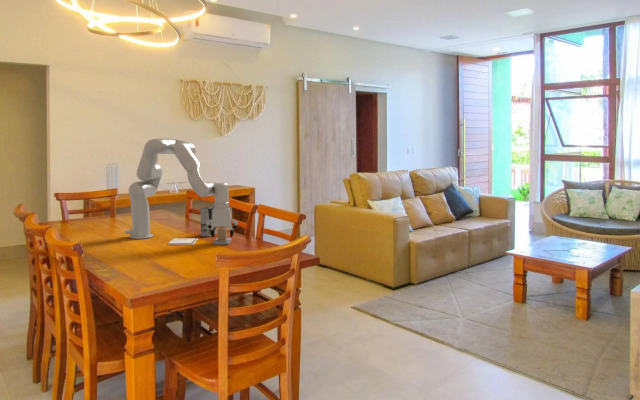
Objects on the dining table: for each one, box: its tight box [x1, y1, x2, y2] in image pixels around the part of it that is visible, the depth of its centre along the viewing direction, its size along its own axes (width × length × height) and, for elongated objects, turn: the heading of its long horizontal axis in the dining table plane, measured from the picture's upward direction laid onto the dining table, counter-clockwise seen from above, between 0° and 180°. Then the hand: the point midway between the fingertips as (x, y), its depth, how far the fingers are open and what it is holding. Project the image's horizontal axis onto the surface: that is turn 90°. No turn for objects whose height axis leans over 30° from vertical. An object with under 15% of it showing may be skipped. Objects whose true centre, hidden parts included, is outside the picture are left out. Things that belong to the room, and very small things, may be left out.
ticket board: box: [168, 237, 199, 246], centre depth 266 cm, size 13×12×1 cm
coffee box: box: [199, 206, 218, 237], centre depth 285 cm, size 9×6×16 cm
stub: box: [212, 227, 233, 245], centre depth 266 cm, size 8×12×7 cm, turn 2°
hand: (222, 237), depth 266 cm, fingers open, 9 cm apart
